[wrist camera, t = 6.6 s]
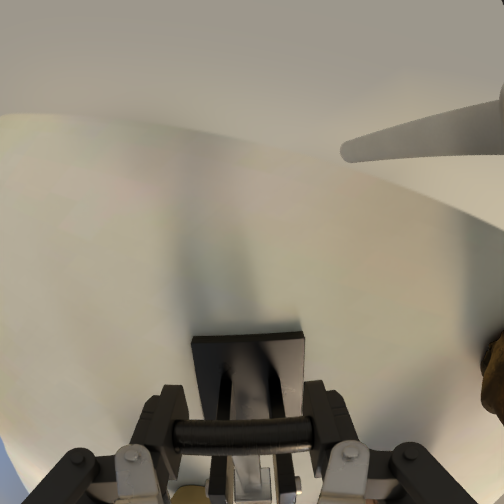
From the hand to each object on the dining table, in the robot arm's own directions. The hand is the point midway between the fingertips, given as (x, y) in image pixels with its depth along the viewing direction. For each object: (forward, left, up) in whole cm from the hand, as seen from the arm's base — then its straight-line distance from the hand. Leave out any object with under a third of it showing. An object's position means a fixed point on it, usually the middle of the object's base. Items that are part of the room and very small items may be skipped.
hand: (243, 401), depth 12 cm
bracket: (+10, 0, -12) cm, 15 cm away
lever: (+5, 0, -1) cm, 5 cm away
